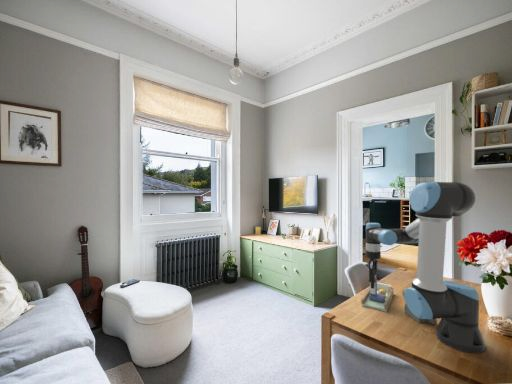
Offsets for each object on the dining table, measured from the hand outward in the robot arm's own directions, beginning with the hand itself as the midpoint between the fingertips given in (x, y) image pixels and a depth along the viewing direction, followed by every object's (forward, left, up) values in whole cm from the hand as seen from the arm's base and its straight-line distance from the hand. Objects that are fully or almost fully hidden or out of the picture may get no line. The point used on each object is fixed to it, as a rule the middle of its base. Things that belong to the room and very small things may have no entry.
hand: (373, 292), depth 140 cm
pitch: (+3, -2, -5) cm, 6 cm away
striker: (0, -2, -3) cm, 4 cm away
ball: (+7, -3, -2) cm, 8 cm away
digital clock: (-7, -22, -5) cm, 23 cm away
